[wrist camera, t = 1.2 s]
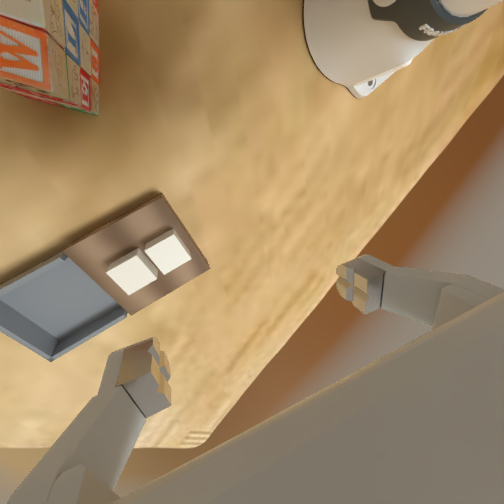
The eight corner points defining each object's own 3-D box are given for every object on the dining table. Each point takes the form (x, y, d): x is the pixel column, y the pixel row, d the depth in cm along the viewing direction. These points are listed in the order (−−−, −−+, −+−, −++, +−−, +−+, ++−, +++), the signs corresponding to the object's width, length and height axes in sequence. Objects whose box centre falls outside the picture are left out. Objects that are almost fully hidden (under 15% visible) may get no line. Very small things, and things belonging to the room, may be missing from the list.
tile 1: (138, 247, 28) (136, 255, 26) (157, 270, 30) (157, 278, 28) (110, 263, 28) (105, 272, 26) (131, 285, 30) (128, 295, 28)
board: (162, 193, 30) (161, 197, 27) (206, 260, 36) (210, 268, 33) (71, 242, 28) (62, 251, 26) (133, 303, 34) (131, 315, 32)
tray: (71, 246, 28) (59, 257, 25) (129, 302, 34) (126, 317, 31) (-14, 292, 27) (-36, 309, 24) (61, 342, 33) (50, 361, 30)
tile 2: (173, 228, 29) (173, 234, 27) (189, 251, 31) (191, 259, 29) (145, 243, 28) (144, 250, 26) (164, 266, 30) (164, 274, 28)
